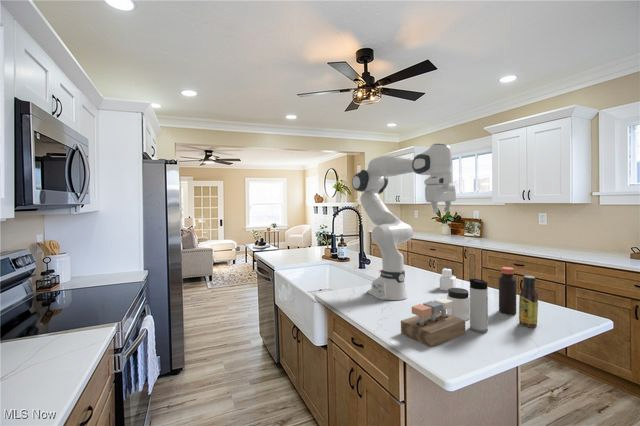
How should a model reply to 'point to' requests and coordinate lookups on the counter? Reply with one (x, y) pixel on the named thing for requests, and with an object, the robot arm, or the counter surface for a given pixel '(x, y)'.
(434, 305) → the key slate
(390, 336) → the counter surface
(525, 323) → the sauce bottle
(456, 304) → the jar
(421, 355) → the counter surface
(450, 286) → the medicine bottle
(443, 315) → the cream block
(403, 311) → the counter surface
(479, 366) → the counter surface
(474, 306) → the travel mug
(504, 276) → the vinegar
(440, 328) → the keypad base
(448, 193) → the robot arm
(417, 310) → the key terracotta
